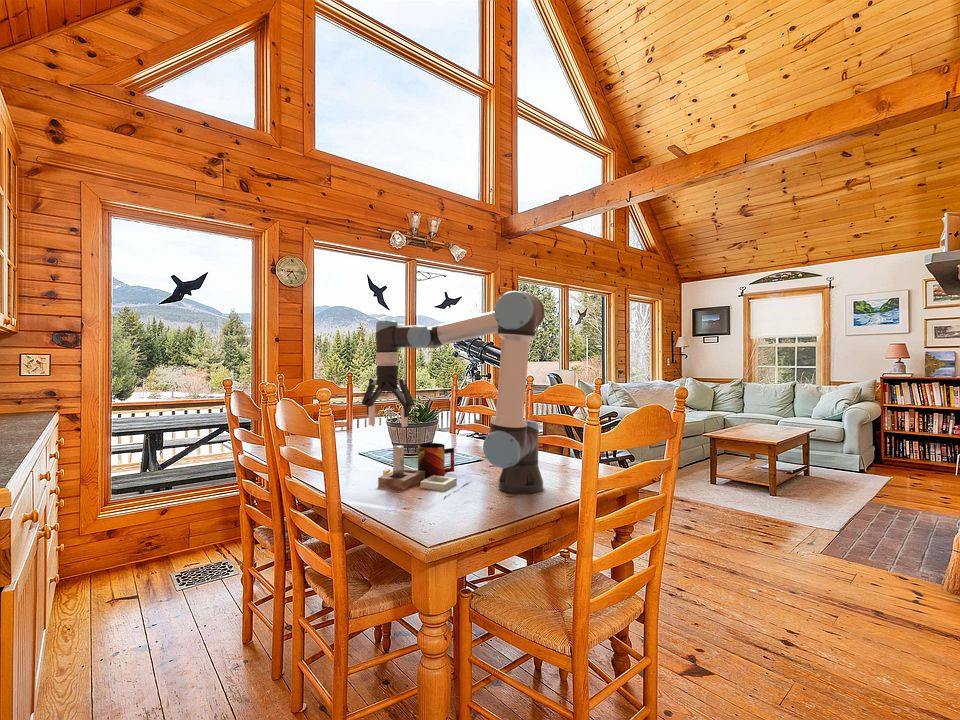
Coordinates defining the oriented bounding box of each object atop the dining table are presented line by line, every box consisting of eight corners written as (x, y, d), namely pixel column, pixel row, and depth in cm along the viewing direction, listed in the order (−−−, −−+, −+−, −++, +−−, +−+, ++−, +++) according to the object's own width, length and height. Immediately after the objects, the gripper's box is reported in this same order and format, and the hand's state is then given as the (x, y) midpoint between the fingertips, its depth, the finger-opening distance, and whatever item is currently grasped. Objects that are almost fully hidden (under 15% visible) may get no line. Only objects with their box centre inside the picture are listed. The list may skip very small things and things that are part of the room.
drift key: (411, 481, 171) (411, 471, 171) (407, 483, 169) (407, 473, 169) (387, 478, 175) (387, 468, 175) (383, 480, 172) (383, 470, 172)
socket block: (425, 482, 171) (425, 470, 171) (404, 493, 158) (404, 480, 158) (400, 479, 175) (400, 468, 175) (378, 489, 162) (378, 477, 162)
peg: (405, 484, 165) (405, 445, 165) (400, 486, 162) (400, 447, 161) (396, 482, 166) (396, 445, 166) (390, 485, 163) (390, 447, 163)
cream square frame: (456, 486, 166) (456, 477, 166) (444, 493, 157) (444, 484, 157) (433, 483, 169) (433, 475, 169) (420, 490, 161) (420, 481, 161)
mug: (454, 474, 183) (454, 442, 182) (436, 483, 170) (436, 449, 170) (432, 471, 187) (432, 440, 186) (412, 480, 174) (412, 446, 174)
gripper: (423, 364, 168) (424, 425, 168) (364, 364, 178) (365, 422, 178) (412, 365, 161) (413, 429, 161) (351, 365, 171) (352, 425, 171)
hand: (388, 425), depth 170 cm, fingers open, 13 cm apart
